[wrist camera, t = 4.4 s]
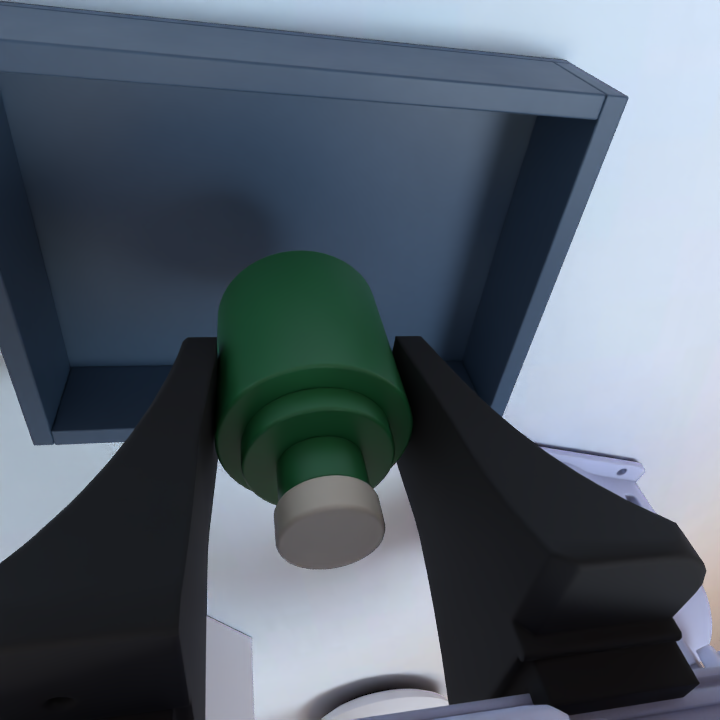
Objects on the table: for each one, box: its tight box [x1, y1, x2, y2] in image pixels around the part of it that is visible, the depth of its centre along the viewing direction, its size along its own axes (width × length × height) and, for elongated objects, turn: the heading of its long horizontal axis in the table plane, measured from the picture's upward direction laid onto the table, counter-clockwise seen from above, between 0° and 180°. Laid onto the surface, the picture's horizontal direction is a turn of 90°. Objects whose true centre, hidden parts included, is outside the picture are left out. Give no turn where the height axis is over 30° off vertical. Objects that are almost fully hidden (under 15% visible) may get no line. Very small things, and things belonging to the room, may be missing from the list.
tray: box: [0, 1, 628, 445], centre depth 17 cm, size 15×11×3 cm
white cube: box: [205, 616, 254, 720], centre depth 32 cm, size 6×6×6 cm
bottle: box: [214, 250, 413, 569], centre depth 12 cm, size 4×4×6 cm
